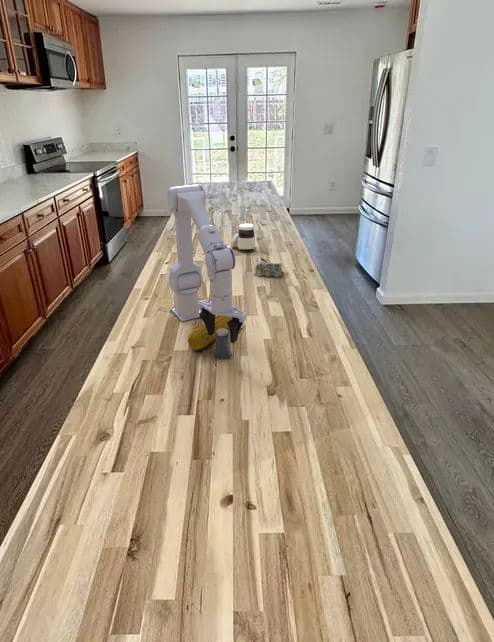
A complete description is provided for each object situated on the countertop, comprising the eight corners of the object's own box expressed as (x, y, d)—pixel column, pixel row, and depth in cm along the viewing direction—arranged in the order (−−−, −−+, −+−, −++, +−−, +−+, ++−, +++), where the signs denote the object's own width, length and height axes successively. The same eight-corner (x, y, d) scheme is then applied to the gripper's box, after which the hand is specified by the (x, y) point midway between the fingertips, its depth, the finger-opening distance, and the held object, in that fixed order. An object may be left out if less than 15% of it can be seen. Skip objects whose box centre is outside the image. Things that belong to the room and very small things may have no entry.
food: (201, 355, 123) (200, 337, 120) (185, 350, 125) (184, 332, 123) (238, 323, 139) (238, 307, 136) (223, 319, 142) (222, 303, 139)
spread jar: (255, 253, 199) (255, 228, 194) (230, 253, 199) (229, 228, 194) (254, 244, 210) (254, 221, 205) (230, 245, 210) (230, 221, 205)
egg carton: (254, 276, 174) (254, 266, 173) (257, 269, 181) (257, 260, 179) (280, 277, 172) (280, 268, 171) (282, 270, 179) (282, 261, 177)
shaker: (221, 349, 125) (220, 326, 122) (232, 354, 123) (232, 330, 120) (213, 356, 122) (212, 332, 119) (224, 360, 120) (223, 336, 117)
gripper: (252, 293, 114) (252, 338, 120) (208, 282, 121) (210, 324, 127) (237, 303, 108) (238, 350, 114) (192, 291, 116) (195, 335, 122)
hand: (222, 337), depth 120 cm, fingers open, 7 cm apart
